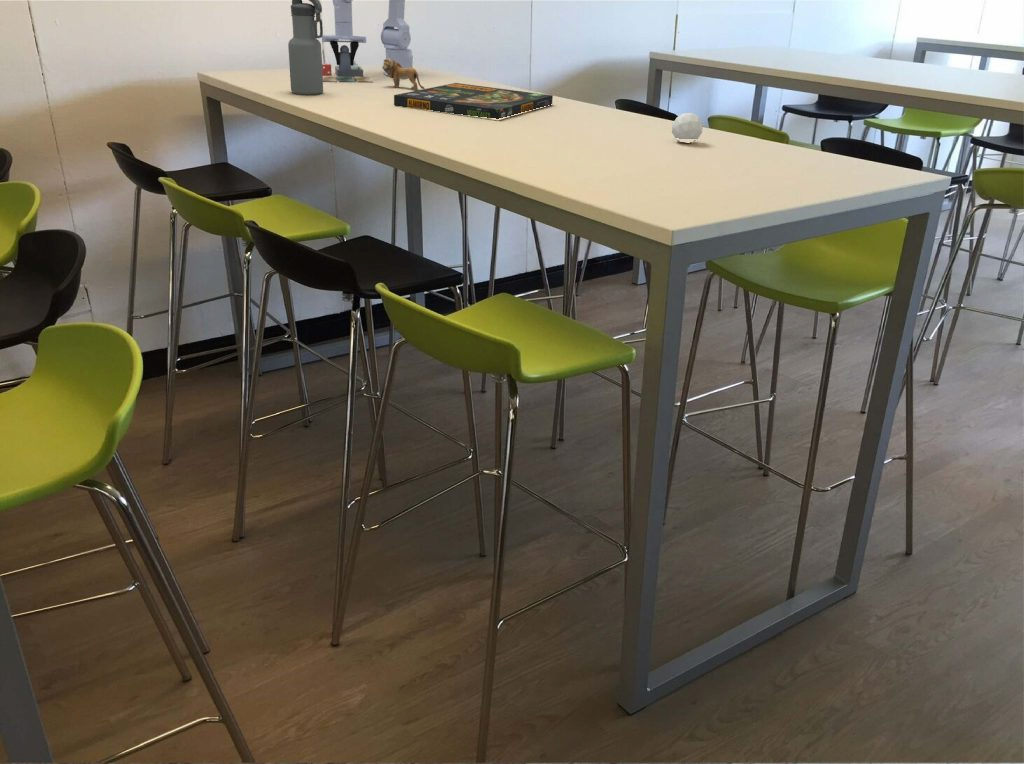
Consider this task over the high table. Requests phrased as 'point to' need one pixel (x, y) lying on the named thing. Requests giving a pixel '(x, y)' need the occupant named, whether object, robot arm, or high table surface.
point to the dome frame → (349, 74)
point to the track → (346, 79)
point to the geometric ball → (687, 126)
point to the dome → (354, 66)
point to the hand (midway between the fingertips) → (345, 65)
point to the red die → (326, 69)
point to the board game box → (473, 100)
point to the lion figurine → (400, 73)
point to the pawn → (344, 59)
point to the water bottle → (306, 49)
